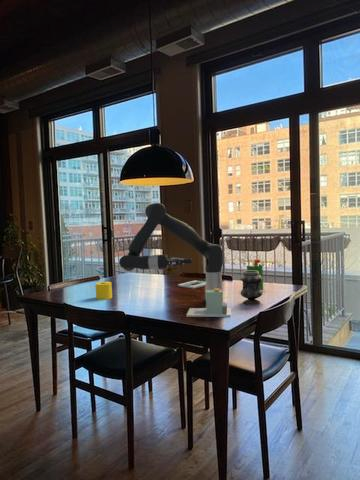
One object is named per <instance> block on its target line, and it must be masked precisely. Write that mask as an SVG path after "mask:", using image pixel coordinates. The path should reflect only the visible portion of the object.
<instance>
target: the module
mask: <svg viewBox="0 0 360 480" xmlns="http://www.w3.org/2000/svg"><path fill="white" fill-rule="evenodd" d="M223 300H224V297H223V289H222V290H220V288H215V290H207V291H206V297H205V308H206V312H207V314H223V311H222V305H223V303H224V301H223Z"/></svg>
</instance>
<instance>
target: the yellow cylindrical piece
mask: <svg viewBox="0 0 360 480" xmlns="http://www.w3.org/2000/svg"><path fill="white" fill-rule="evenodd" d="M112 285H113V284H112V281H99V282H95V299H96V300H101V301H102V300H110V299H112V298H113V288H112Z"/></svg>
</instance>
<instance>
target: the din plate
mask: <svg viewBox="0 0 360 480" xmlns="http://www.w3.org/2000/svg"><path fill="white" fill-rule="evenodd" d="M222 311H223V314H207V312H206V307H197V308H196V307H189V308H188V311H187V313H186V318H190V317H191V318H193V317H194V318H197V317H198V318H200V317H203V318H205V317H208V318H209V317H211V318H213V317H214V318H217V317H219V318H221V317H222V318H226V317H227V318H230V317H231V316H232V308H231V307H228V303H227V302H223V305H222Z"/></svg>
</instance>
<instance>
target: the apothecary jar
mask: <svg viewBox="0 0 360 480" xmlns="http://www.w3.org/2000/svg"><path fill="white" fill-rule="evenodd" d="M261 280H262V277H261V276H260V275H259V271H255V270H247V269H246V270H243V274H241V276H240V281H241V282H242V289H241V290H240V293H239V294H240V295H241V297H243V298H244V299H245V300H243V302H242V304H244V305H249V306H252V305H253V306H256V305H260V304H261V303H262V301H260V300H259V299H258V298H261V297H262V295H263V290H260V281H261Z"/></svg>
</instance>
